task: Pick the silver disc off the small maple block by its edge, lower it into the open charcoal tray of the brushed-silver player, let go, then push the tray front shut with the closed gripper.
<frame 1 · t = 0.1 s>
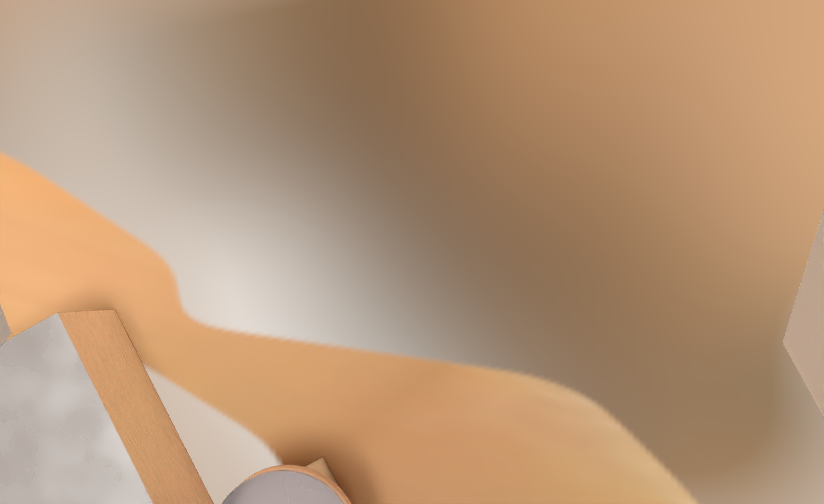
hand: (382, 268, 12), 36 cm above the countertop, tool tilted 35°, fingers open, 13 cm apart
player: (56, 501, 49), on the countertop
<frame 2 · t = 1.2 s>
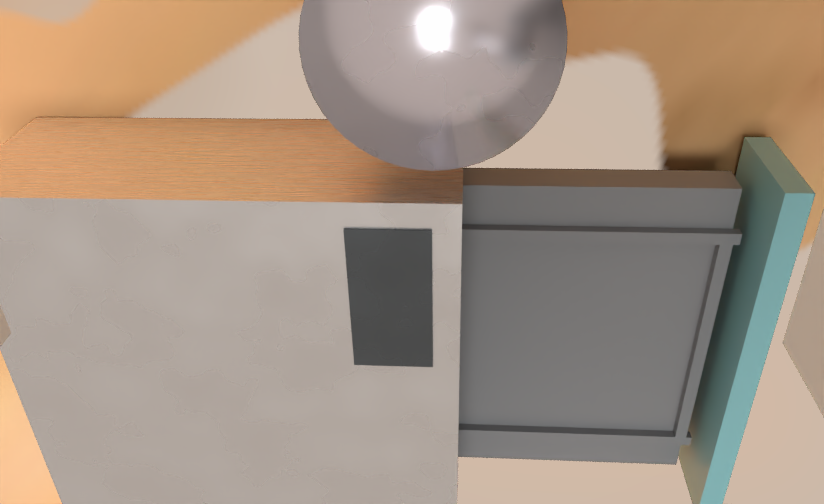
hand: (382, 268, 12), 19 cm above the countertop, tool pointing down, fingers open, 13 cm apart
disc: (433, 34, 24), point 5 cm above the countertop, touching block
tray: (547, 337, 33), point 3 cm above the countertop, slide at 11.0 cm
player: (272, 295, 36), on the countertop
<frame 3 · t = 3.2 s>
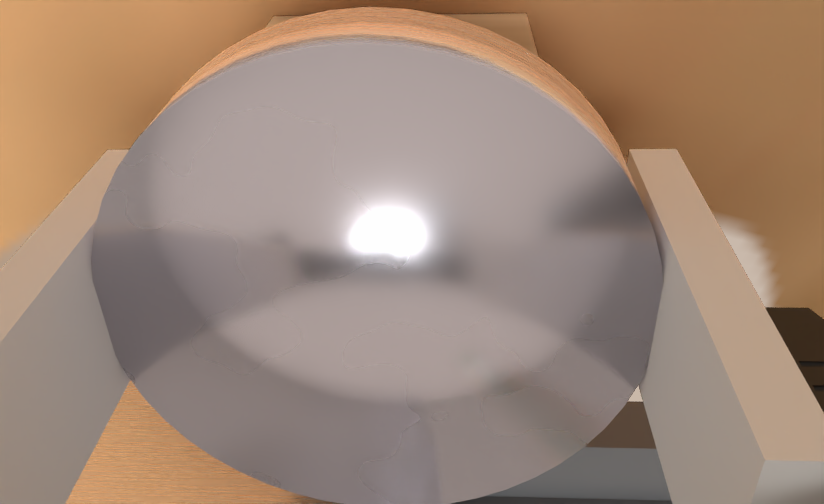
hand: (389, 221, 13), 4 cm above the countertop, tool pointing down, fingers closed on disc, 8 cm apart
disc: (383, 260, 12), point 5 cm above the countertop, touching block, gripper
block: (402, 132, 16), on the countertop
when the fingers open (4 cm above the countertop, at t = 7.5 s): disc drops 2 cm, resting on tray.
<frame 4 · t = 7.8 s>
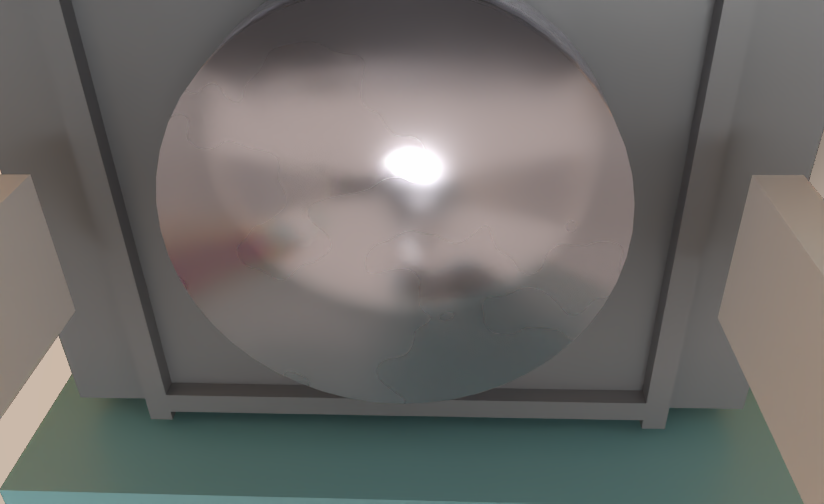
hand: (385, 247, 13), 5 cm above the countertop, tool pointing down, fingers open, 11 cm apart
disc: (398, 186, 14), point 3 cm above the countertop, touching tray
tray: (392, 124, 14), point 3 cm above the countertop, slide at 11.0 cm, touching disc
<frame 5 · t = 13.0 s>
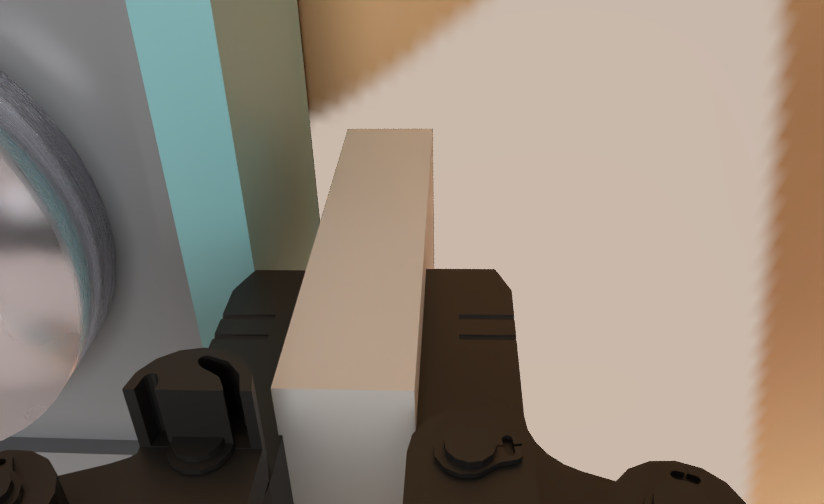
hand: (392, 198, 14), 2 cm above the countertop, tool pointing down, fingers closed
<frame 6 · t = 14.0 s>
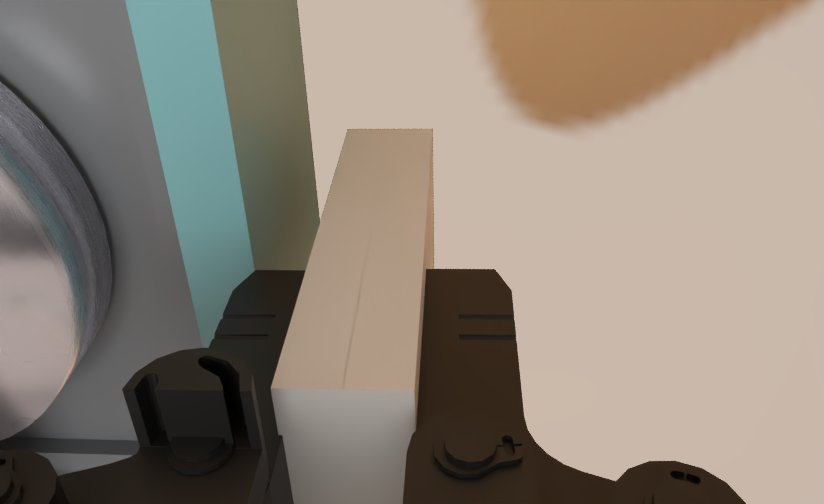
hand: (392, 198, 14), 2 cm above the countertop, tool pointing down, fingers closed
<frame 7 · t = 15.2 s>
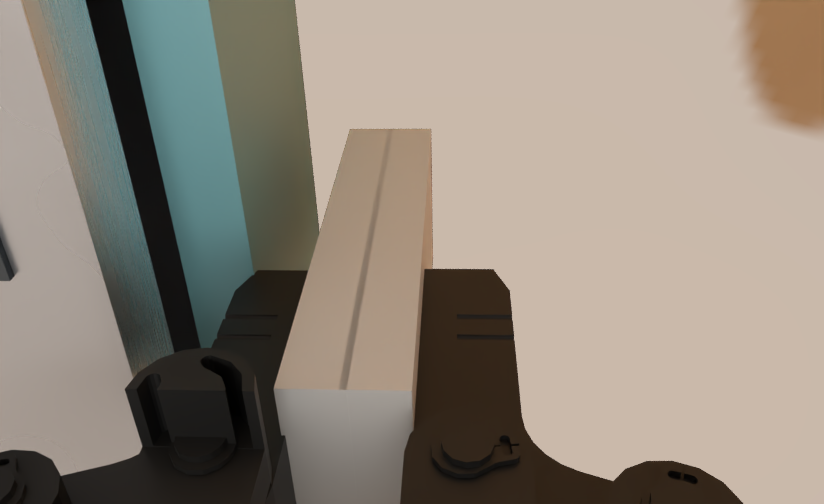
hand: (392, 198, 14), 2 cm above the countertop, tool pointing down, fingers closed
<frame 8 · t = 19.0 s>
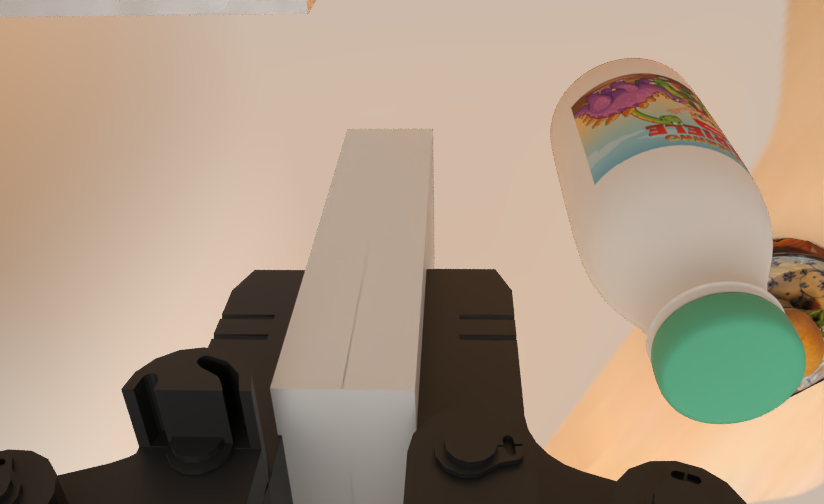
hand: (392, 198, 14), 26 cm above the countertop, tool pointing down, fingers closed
milk bottle: (620, 122, 41), on the countertop
burger: (756, 313, 48), on the countertop
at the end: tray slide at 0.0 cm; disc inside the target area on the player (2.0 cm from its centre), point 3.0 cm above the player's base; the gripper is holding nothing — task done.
